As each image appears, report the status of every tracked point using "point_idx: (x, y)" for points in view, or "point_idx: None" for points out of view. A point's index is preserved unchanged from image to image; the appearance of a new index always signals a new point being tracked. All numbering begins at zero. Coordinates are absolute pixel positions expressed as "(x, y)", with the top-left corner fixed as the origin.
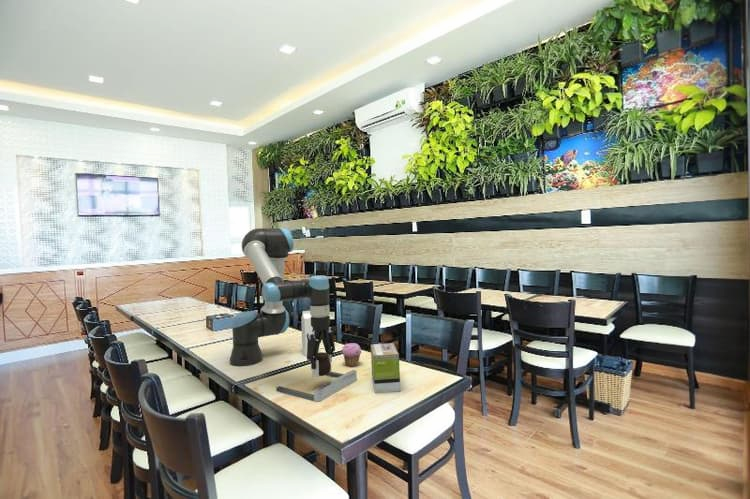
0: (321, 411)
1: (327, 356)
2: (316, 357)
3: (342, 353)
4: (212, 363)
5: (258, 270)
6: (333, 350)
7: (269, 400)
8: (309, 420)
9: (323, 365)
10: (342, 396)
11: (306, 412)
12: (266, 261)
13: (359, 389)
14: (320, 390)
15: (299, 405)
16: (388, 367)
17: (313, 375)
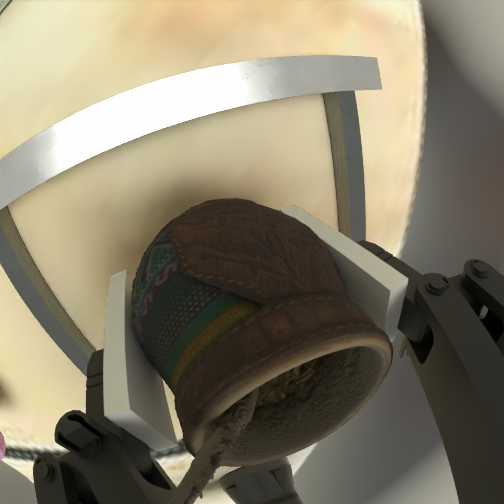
0: (368, 3)
1: (246, 349)
2: (443, 305)
3: (1, 436)
4: (300, 462)
5: None
6: (57, 468)
7: (405, 237)
8: (414, 11)
9: (292, 238)
10: (201, 10)
11: (402, 49)
12: None
13: (52, 33)
14: (357, 57)
15: (391, 113)
16: None
17: None
